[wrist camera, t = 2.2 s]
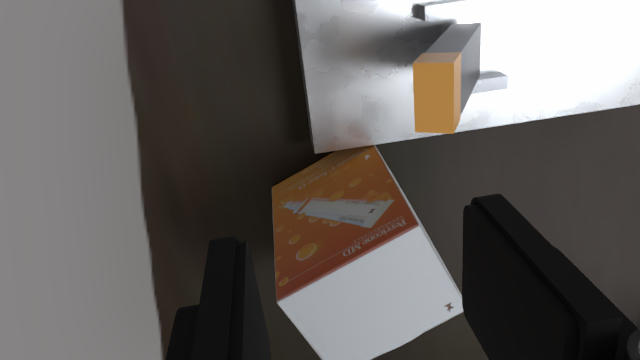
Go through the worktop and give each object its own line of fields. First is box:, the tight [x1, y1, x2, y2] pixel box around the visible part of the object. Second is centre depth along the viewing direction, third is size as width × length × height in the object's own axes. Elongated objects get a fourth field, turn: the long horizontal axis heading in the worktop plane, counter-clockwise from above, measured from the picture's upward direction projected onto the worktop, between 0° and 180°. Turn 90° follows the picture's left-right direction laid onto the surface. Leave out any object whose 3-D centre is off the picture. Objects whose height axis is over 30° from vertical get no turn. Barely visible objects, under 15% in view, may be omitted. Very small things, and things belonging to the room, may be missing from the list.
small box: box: [272, 145, 464, 360], centre depth 30 cm, size 8×6×13 cm
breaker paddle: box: [413, 23, 481, 134], centre depth 25 cm, size 2×3×9 cm, turn 7°
